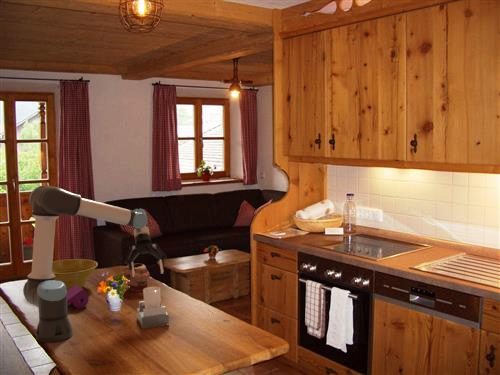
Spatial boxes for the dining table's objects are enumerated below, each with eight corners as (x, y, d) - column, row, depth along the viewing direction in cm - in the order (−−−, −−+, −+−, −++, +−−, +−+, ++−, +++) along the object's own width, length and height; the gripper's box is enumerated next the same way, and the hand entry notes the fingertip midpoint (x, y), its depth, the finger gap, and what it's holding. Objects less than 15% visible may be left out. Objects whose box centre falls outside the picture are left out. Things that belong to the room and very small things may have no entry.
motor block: (168, 325, 245) (168, 307, 244) (142, 328, 241) (141, 310, 240) (162, 315, 258) (162, 298, 257) (137, 318, 254) (136, 301, 253)
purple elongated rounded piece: (60, 324, 264) (91, 301, 274) (52, 311, 261) (83, 288, 270) (53, 319, 271) (83, 297, 281) (45, 306, 268) (75, 284, 277)
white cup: (162, 307, 253) (161, 286, 252) (159, 312, 245) (159, 291, 244) (145, 307, 252) (144, 286, 251) (142, 313, 245) (141, 291, 243)
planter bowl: (105, 280, 318) (104, 258, 317) (88, 297, 286) (87, 273, 285) (52, 280, 319) (51, 258, 318) (28, 297, 287) (27, 273, 286)
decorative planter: (115, 288, 302) (114, 264, 300) (132, 283, 311) (131, 260, 310) (140, 294, 290) (139, 269, 288) (156, 289, 300) (155, 264, 298)
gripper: (166, 239, 274) (173, 275, 262) (116, 243, 266) (120, 280, 254) (168, 230, 269) (175, 267, 257) (117, 234, 260) (121, 272, 248)
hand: (148, 273), depth 255 cm, fingers open, 13 cm apart
